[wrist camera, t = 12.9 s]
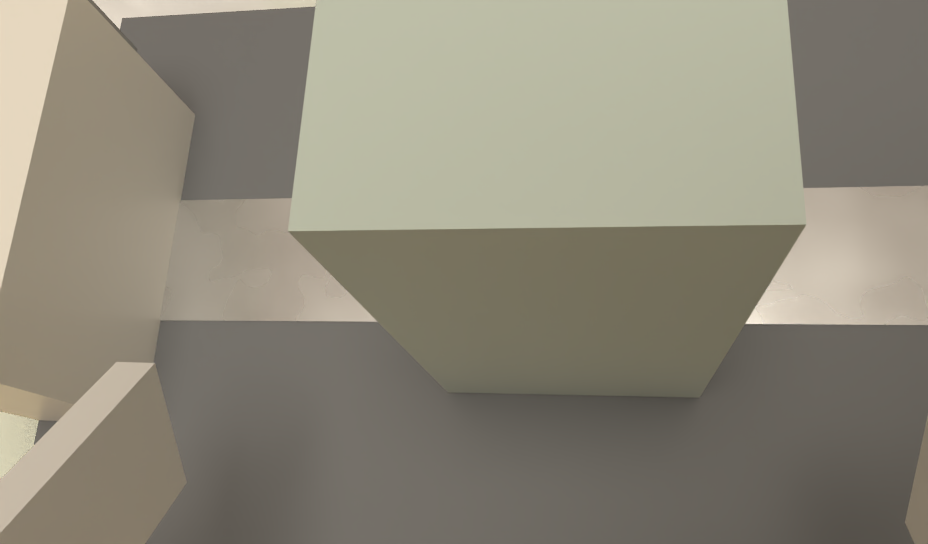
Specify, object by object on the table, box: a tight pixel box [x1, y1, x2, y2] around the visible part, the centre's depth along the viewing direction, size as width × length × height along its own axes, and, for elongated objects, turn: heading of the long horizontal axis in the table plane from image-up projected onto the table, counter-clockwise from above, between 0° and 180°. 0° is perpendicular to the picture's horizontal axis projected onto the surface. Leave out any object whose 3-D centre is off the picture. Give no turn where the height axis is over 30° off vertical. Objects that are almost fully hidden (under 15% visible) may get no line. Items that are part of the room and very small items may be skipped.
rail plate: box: [0, 0, 928, 544], centre depth 19 cm, size 28×16×7 cm, turn 87°
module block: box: [288, 0, 806, 398], centre depth 16 cm, size 6×7×11 cm
